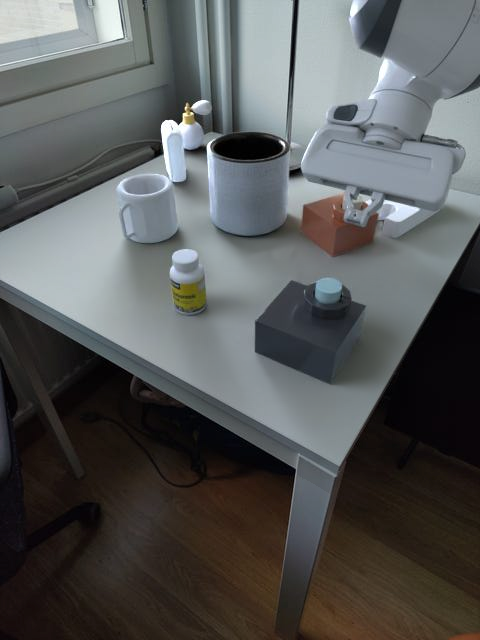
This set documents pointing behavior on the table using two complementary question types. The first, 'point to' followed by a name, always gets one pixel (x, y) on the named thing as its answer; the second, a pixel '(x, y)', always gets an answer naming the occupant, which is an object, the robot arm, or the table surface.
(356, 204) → the round white push button
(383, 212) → the tape dispenser
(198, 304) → the supplement bottle
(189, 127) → the perfume bottle
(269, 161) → the planter
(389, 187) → the robot arm
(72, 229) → the table surface
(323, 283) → the light blue push button
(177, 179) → the white rounded-top slab
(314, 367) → the grey push button box
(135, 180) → the mug
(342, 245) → the orange push button block
